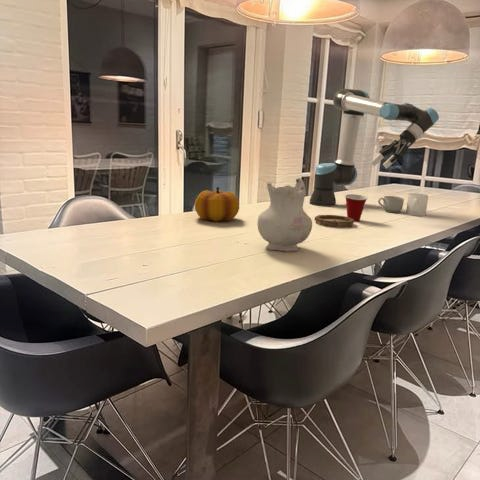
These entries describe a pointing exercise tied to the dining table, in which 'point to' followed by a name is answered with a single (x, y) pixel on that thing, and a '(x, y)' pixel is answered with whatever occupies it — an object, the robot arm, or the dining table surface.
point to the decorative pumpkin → (217, 205)
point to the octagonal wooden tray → (334, 221)
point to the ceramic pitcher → (285, 218)
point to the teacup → (392, 203)
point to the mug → (417, 204)
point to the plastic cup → (355, 205)
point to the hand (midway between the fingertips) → (378, 165)
